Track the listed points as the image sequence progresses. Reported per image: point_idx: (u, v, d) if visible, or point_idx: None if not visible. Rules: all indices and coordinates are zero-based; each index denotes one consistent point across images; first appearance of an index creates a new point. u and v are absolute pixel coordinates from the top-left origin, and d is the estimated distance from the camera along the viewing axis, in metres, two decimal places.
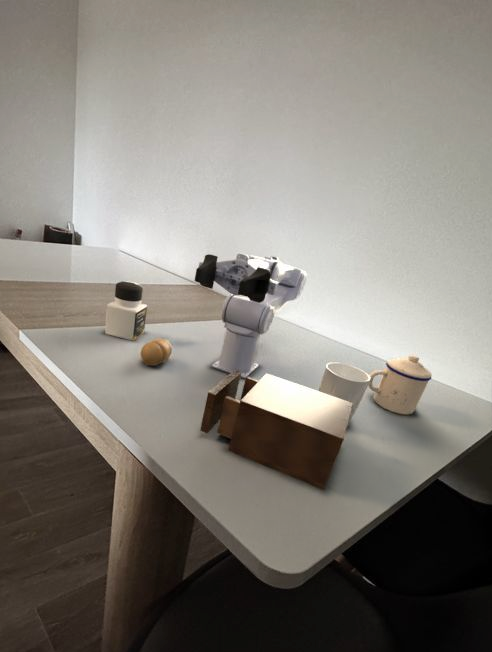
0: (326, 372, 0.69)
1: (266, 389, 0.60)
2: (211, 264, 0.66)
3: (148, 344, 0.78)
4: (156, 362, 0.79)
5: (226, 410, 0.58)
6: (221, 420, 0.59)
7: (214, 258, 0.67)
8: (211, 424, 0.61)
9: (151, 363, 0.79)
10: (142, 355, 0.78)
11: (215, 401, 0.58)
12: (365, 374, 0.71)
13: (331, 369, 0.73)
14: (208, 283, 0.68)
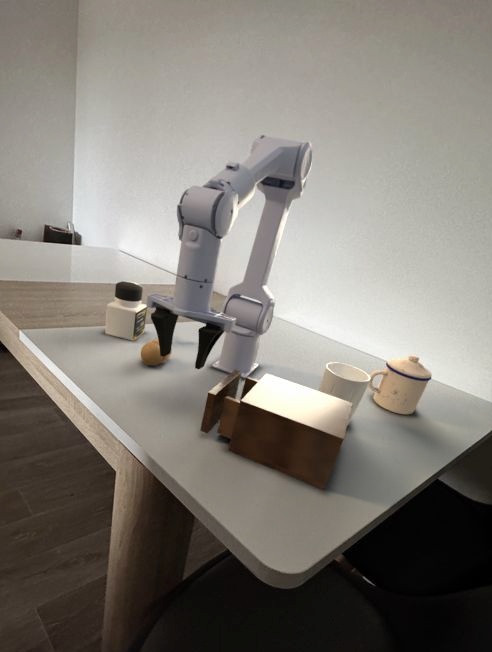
0: (326, 372, 0.69)
1: (266, 389, 0.60)
2: (164, 331, 0.61)
3: (148, 344, 0.78)
4: (156, 362, 0.79)
5: (226, 410, 0.58)
6: (221, 420, 0.59)
7: (161, 322, 0.60)
8: (211, 424, 0.61)
9: (151, 363, 0.79)
10: (142, 355, 0.78)
11: (215, 401, 0.58)
12: (365, 374, 0.71)
13: (331, 369, 0.73)
14: (174, 325, 0.64)
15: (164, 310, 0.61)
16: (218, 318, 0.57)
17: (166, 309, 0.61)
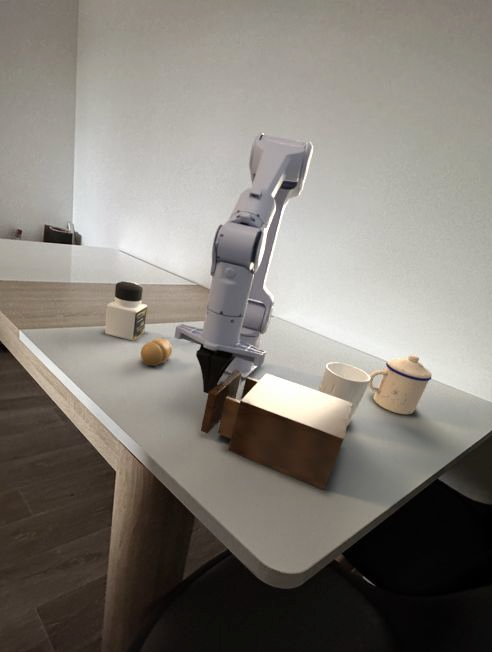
0: (326, 372, 0.69)
1: (266, 389, 0.60)
2: (209, 368, 0.61)
3: (148, 344, 0.78)
4: (156, 362, 0.79)
5: (227, 410, 0.58)
6: (221, 421, 0.59)
7: (207, 361, 0.59)
8: (212, 425, 0.61)
9: (151, 363, 0.79)
10: (142, 355, 0.78)
11: (216, 401, 0.58)
12: (365, 374, 0.71)
13: (331, 369, 0.73)
14: None
15: None
16: (248, 352, 0.57)
17: None
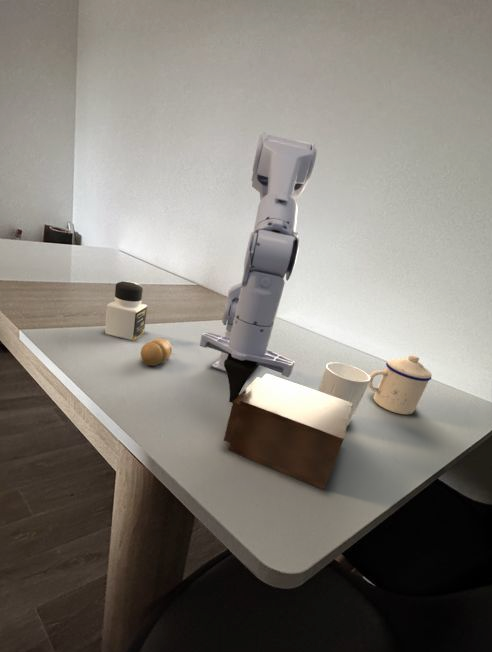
0: (326, 372, 0.69)
1: (266, 389, 0.60)
2: None
3: (148, 344, 0.78)
4: (156, 362, 0.79)
5: None
6: None
7: (235, 371, 0.58)
8: None
9: (151, 363, 0.79)
10: (142, 355, 0.78)
11: None
12: (365, 374, 0.71)
13: (331, 369, 0.73)
14: None
15: None
16: (277, 362, 0.56)
17: None
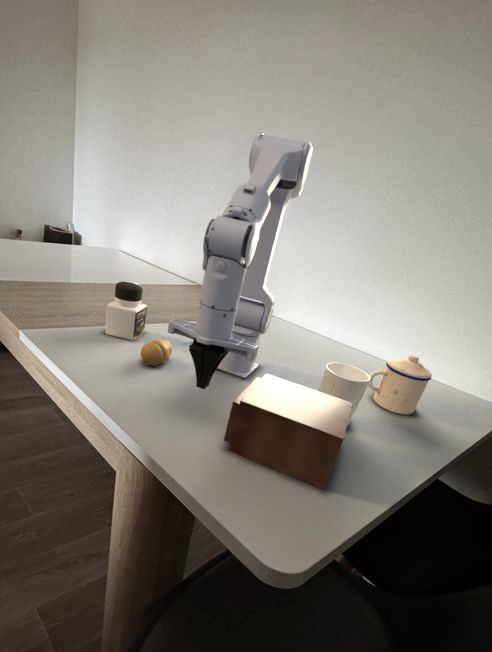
0: (326, 372, 0.69)
1: (266, 389, 0.60)
2: (202, 363, 0.61)
3: (148, 344, 0.78)
4: (156, 362, 0.79)
5: None
6: None
7: (199, 355, 0.59)
8: None
9: (151, 363, 0.79)
10: (142, 355, 0.78)
11: None
12: (365, 374, 0.71)
13: (331, 369, 0.73)
14: None
15: None
16: (241, 346, 0.57)
17: None
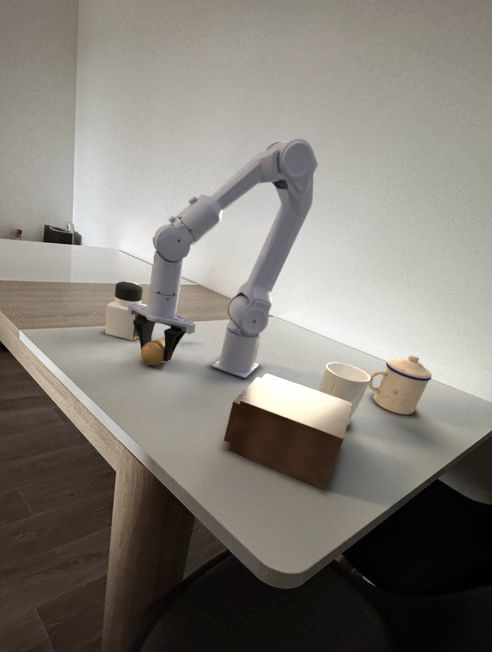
0: (326, 372, 0.69)
1: (266, 389, 0.60)
2: (143, 333, 0.79)
3: (148, 344, 0.78)
4: (156, 362, 0.79)
5: None
6: None
7: (141, 327, 0.78)
8: None
9: (151, 363, 0.79)
10: (142, 355, 0.78)
11: None
12: (365, 374, 0.71)
13: (331, 369, 0.73)
14: (152, 328, 0.81)
15: (143, 317, 0.78)
16: (181, 323, 0.75)
17: (145, 316, 0.79)
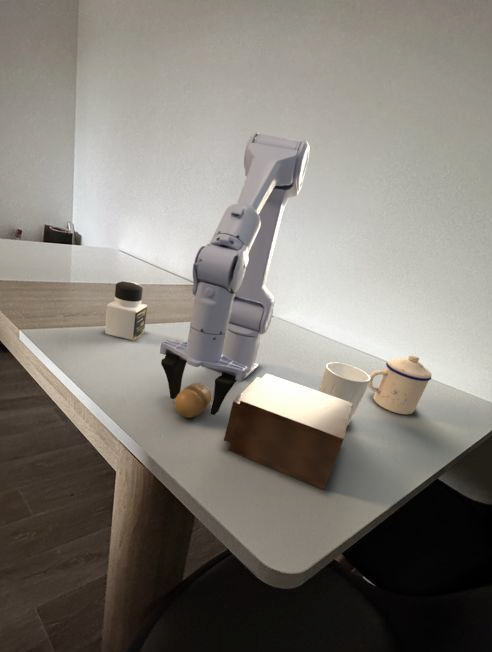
0: (326, 372, 0.69)
1: (266, 389, 0.60)
2: (174, 376, 0.64)
3: (183, 392, 0.63)
4: (195, 414, 0.63)
5: None
6: None
7: (171, 369, 0.62)
8: None
9: (189, 416, 0.63)
10: (177, 407, 0.63)
11: None
12: (365, 374, 0.71)
13: (331, 369, 0.73)
14: (183, 368, 0.66)
15: (174, 356, 0.63)
16: (230, 368, 0.59)
17: (176, 355, 0.63)
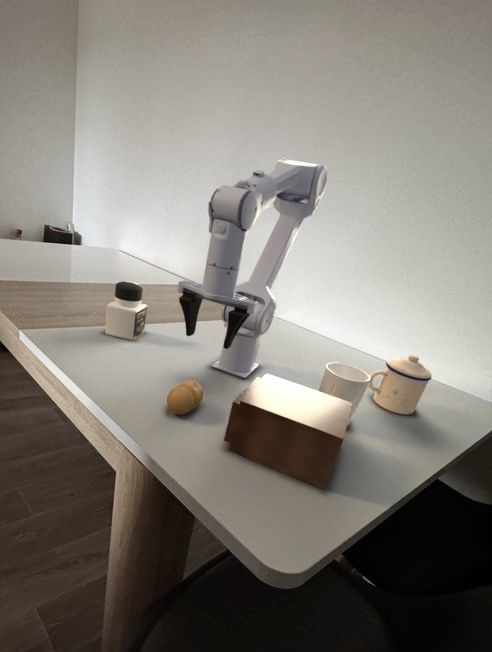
0: (326, 372, 0.69)
1: (266, 389, 0.60)
2: (190, 313, 0.70)
3: (169, 392, 0.64)
4: (189, 404, 0.63)
5: None
6: None
7: (188, 305, 0.68)
8: None
9: (184, 409, 0.63)
10: (170, 407, 0.63)
11: None
12: (365, 374, 0.71)
13: (331, 369, 0.73)
14: (198, 308, 0.72)
15: (190, 294, 0.69)
16: (242, 301, 0.65)
17: (192, 293, 0.69)
